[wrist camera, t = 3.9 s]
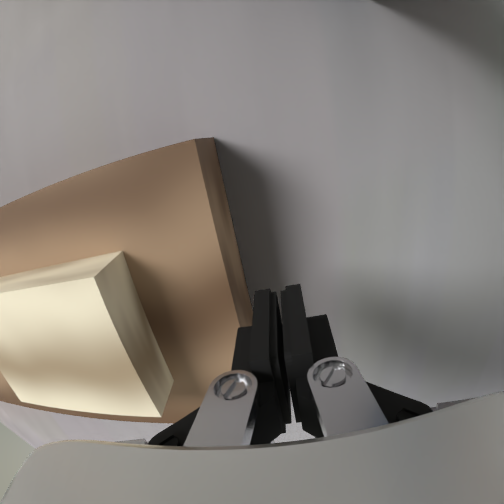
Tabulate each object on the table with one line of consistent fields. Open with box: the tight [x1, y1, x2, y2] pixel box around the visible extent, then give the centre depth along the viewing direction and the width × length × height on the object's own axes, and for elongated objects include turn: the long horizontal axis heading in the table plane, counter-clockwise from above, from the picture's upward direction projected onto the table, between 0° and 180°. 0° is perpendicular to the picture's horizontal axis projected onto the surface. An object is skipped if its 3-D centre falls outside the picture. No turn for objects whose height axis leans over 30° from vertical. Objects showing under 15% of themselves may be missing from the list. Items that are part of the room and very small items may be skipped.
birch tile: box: [0, 251, 174, 417], centre depth 13 cm, size 7×10×2 cm
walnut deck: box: [0, 137, 253, 423], centre depth 16 cm, size 14×24×4 cm, turn 101°
